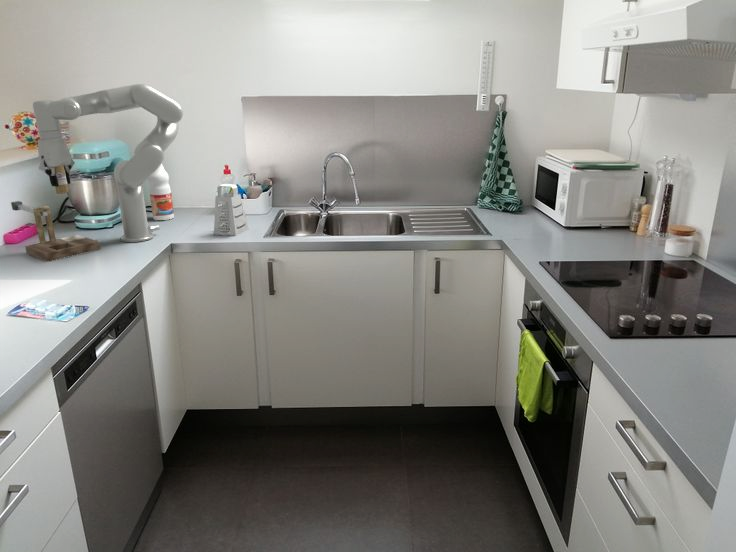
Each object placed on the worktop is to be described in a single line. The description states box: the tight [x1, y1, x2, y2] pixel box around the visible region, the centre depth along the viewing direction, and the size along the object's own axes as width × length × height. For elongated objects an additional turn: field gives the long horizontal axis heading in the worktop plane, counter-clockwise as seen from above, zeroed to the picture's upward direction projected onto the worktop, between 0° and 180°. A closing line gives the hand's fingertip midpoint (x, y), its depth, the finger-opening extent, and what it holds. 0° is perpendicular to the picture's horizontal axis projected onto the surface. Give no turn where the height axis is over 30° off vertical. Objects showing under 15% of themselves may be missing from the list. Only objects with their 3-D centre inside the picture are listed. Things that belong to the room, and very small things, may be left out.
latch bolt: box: [10, 200, 48, 217], centre depth 230 cm, size 3×26×3 cm, turn 52°
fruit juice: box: [147, 163, 175, 221], centre depth 270 cm, size 9×9×28 cm
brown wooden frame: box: [24, 205, 101, 262], centre depth 223 cm, size 20×17×16 cm
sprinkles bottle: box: [54, 162, 70, 195], centre depth 221 cm, size 5×5×13 cm
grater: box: [213, 183, 249, 237], centre depth 247 cm, size 10×10×20 cm
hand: (61, 184), depth 222 cm, fingers closed on sprinkles bottle, 4 cm apart
